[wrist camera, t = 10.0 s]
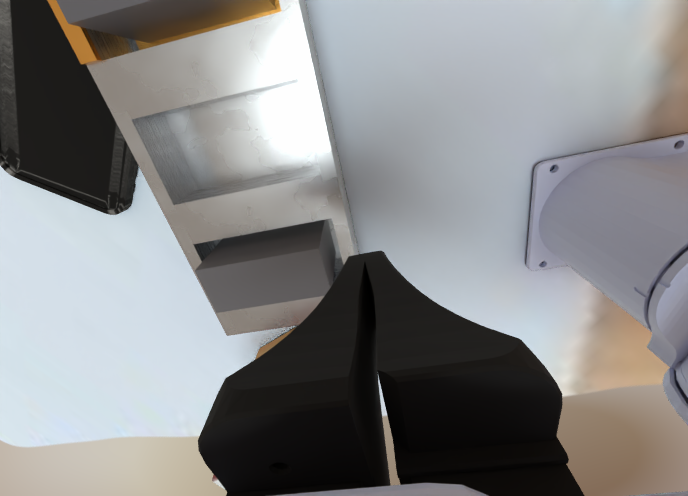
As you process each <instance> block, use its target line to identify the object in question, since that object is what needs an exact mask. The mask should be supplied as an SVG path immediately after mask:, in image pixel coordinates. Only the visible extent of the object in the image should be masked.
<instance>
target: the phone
mask: <svg viewBox="0 0 688 496" xmlns="http://www.w3.org/2000/svg"><path fill="white" fill-rule="evenodd" d="M0 165H1V167H2V168H3V169H4V170H5V171H6V172H7V173H9V174H10V175H11V176H13V177H15V178H17V179H20V180H22V181H25V182H27V183H30V184H32V185H35V186H37V187H40V188H42V189H45V190H47V191H50V192H52V193H55V194H58V195H60V196H63V197H65V198H68V199H70V200H73V201H75V202H78V203H80V204H83V205H85V206H88V207H90V208H93V209H95V210H98V211H101V212H103V213H106V214H110V215H116V214H119V213H121V212H123V211H125V210H127V209H128V208H129V207H130V206H131V204H132V200H133V193H134V186H135V180H136V174H137V167H138V163H137V161H136V160H135V158H134V156H133V154H132V152H131V150H130V148H129V146H128V144H127V142H126V140H125V138H124V136H123V135H122V133H121V131H120V129H119V127H118V125H117V123H116V121H115V119H114V117H113V115H112V113H111V111H110V109H109V108H108V106H107V104H106V102H105V100H104V98H103V96H102V94H101V92H100V90H99V88H98V86H97V84H96V83H95V81H94V79H93V77H92V75H91V73H90V71H89V69H88V67H87V65H81V63H80V61H79V60H78V58H77V56H76V54H75V52H74V50H73V48H72V46H71V44H70V42H69V40H68V39H67V37H66V35H65V33H64V31H63V29H62V27H61V25H60V23H59V21H58V20H57V18H56V16H55V14H54V12H53V10H52V8H51V6H50V4H49V2H48V1H47V0H0Z"/></svg>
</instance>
